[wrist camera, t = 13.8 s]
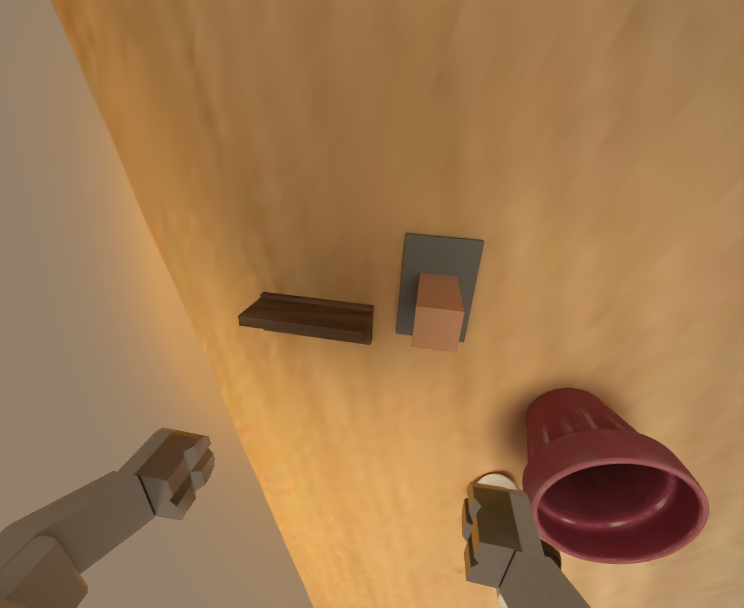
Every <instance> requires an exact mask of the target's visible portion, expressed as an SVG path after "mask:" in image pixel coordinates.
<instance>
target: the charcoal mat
mask: <svg viewBox="0 0 744 608" xmlns="http://www.w3.org/2000/svg"><path fill="white" fill-rule="evenodd" d="M483 244H484V240H477V239H466V238H455V237H445V236H434V235H423V234H413V233H406V239H405V249H404V259H403V269H402V279H401V289H400V299H399V308H398V318H397V328H396V333H397V334H405V335H412V336H413V328H414V320H415V311H416V302H417V294H418V286H419V278H420V273H428V274H437V275H447V276H456V277H457V278H458V283H459V287H460V292H461V297H462V302H463V307H464V317H463V322H462V327H461V333H460V338H459V342H464V339H465V334H466V329H467V324H468V319H469V314H470V309H471V304H472V299H473V294H474V289H475V284H476V279H477V274H478V269H479V264H480V259H481V254H482V249H483Z"/></svg>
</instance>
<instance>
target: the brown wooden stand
mask: <svg viewBox="0 0 744 608" xmlns="http://www.w3.org/2000/svg"><path fill="white" fill-rule="evenodd" d="M260 296H261V298H259V299H258V300H257V301H256V302H255V303H253V304H252V305H251V306H250V307H248V308H247V309H246V310H245V311H243V312H242V313H241V314H240V315H239V316H238V319H239V326H247V327H254V328H261V329H264V330H266V331H274V332H281V333H288V334H295V335H302V336H309V337H317V338H324V339H331V340H338V341H345V342H353V343H360V344H367V345H370V344H371V340H372V325H373V310H374V306H372V305H364V304H356V303H348V302H340V301H331V300H323V299H315V298H307V297H299V296H291V295H283V294H275V293H267V292H263V293H262V294H260Z"/></svg>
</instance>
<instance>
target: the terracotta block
mask: <svg viewBox="0 0 744 608" xmlns="http://www.w3.org/2000/svg"><path fill="white" fill-rule="evenodd" d="M463 317H464V307H463V302H462V297H461V292H460V287H459V283H458V278H457V277H456V276H447V275H437V274H428V273H420V278H419V286H418V294H417V302H416V311H415V320H414V328H413V337H412V347H420V348H427V349H434V350H442V351H449V352H456V353H457V348H458V343H459V338H460V333H461V327H462V322H463Z"/></svg>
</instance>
